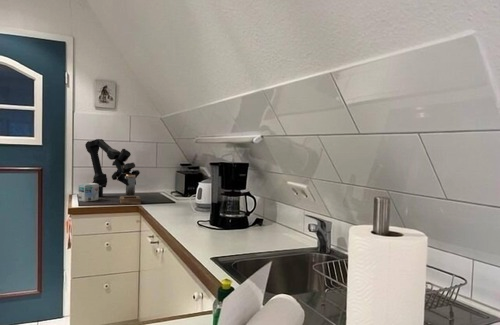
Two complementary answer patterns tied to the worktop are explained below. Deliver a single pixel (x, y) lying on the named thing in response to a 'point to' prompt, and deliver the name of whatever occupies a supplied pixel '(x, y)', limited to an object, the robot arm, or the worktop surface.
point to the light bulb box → (88, 192)
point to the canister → (130, 184)
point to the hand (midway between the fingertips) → (131, 184)
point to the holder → (130, 200)
